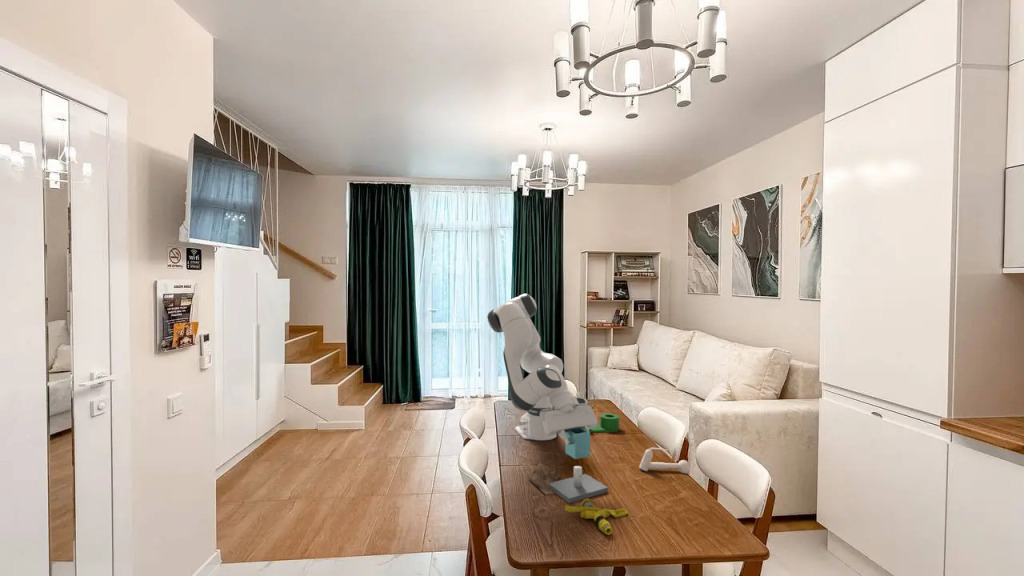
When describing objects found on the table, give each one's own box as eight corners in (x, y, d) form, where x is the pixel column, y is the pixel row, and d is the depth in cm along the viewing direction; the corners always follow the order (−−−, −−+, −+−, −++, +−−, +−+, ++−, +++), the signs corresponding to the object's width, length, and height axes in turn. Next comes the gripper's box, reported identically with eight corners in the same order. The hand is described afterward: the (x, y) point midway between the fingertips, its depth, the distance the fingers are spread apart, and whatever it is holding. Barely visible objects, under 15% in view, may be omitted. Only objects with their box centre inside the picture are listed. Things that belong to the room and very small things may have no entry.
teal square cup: (565, 452, 146) (565, 429, 146) (580, 450, 148) (580, 427, 148) (575, 459, 140) (575, 434, 140) (590, 456, 143) (590, 432, 143)
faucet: (686, 486, 157) (695, 461, 157) (640, 469, 158) (649, 444, 158) (682, 481, 161) (691, 457, 161) (638, 465, 162) (646, 440, 162)
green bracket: (615, 425, 213) (615, 413, 213) (621, 431, 204) (621, 418, 205) (580, 427, 211) (580, 414, 211) (585, 433, 202) (585, 419, 202)
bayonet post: (548, 487, 146) (548, 465, 146) (585, 478, 153) (585, 457, 153) (569, 503, 135) (569, 479, 135) (607, 491, 143) (607, 469, 143)
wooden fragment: (563, 496, 140) (563, 493, 140) (530, 496, 141) (530, 492, 141) (556, 464, 166) (556, 461, 166) (528, 464, 166) (528, 461, 166)
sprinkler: (583, 524, 115) (561, 496, 129) (581, 539, 115) (559, 510, 129) (645, 523, 120) (618, 497, 135) (643, 537, 120) (616, 509, 135)
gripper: (540, 404, 146) (555, 442, 137) (590, 398, 155) (606, 433, 146) (534, 414, 150) (548, 451, 141) (583, 407, 159) (599, 442, 150)
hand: (578, 442), depth 144 cm, fingers closed on teal square cup, 6 cm apart
